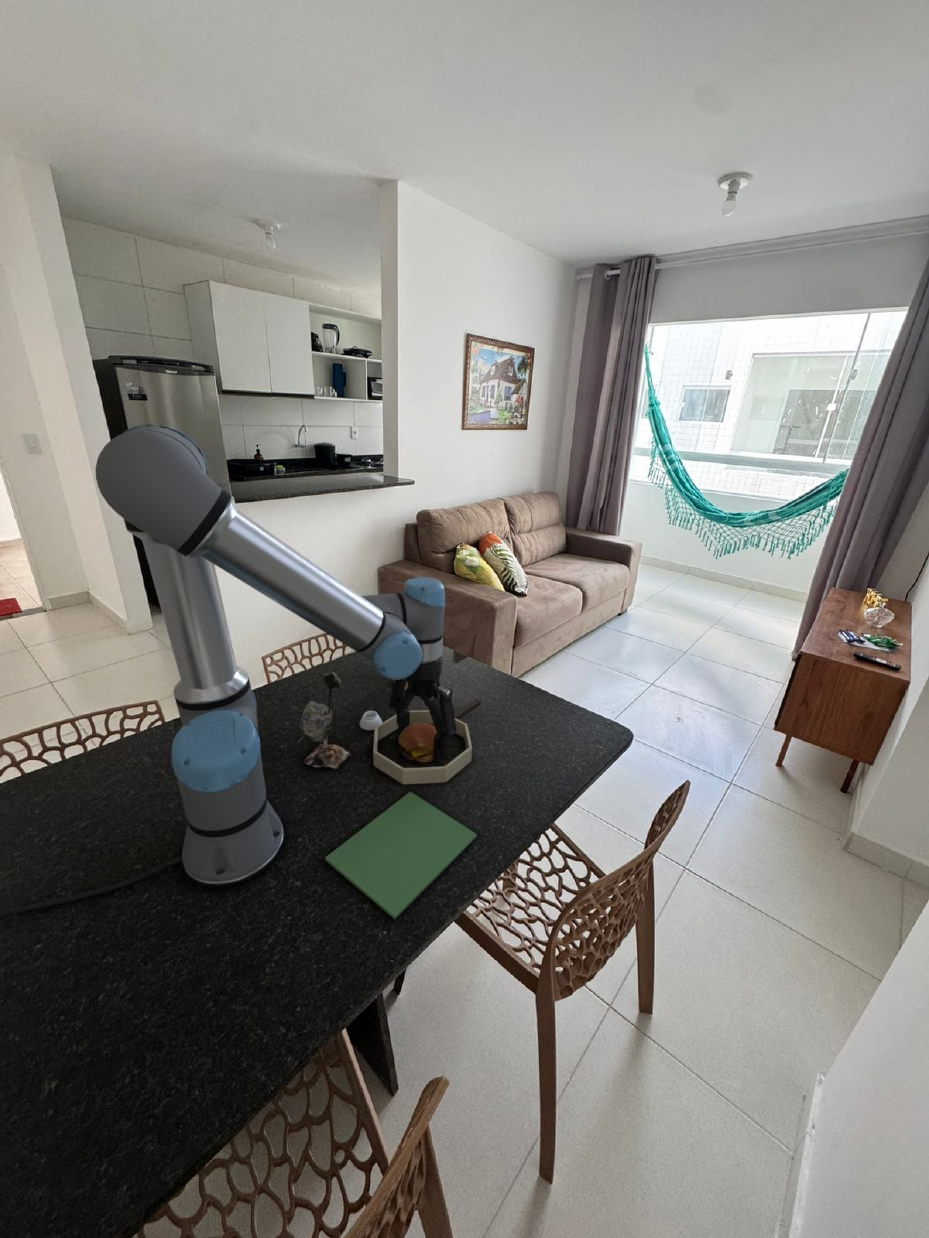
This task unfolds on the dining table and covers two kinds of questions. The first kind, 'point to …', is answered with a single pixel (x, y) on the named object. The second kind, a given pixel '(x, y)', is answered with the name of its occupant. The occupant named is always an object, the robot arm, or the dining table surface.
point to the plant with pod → (322, 730)
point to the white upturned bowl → (370, 720)
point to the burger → (418, 742)
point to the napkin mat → (401, 852)
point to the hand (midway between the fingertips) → (420, 748)
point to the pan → (425, 772)
